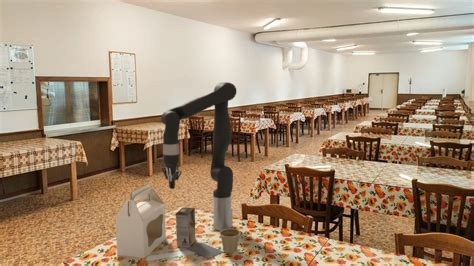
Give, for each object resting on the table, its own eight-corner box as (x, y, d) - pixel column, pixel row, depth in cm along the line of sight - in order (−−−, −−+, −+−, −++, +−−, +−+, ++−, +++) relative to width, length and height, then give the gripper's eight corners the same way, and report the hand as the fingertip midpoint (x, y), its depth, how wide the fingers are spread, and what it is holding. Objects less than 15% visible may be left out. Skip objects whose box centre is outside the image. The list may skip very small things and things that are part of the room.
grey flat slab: (201, 242, 174) (201, 242, 174) (223, 252, 164) (223, 251, 164) (186, 248, 168) (186, 248, 167) (208, 258, 158) (208, 258, 158)
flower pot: (225, 257, 159) (225, 238, 158) (216, 249, 167) (216, 230, 166) (244, 252, 163) (244, 234, 162) (234, 244, 172) (234, 227, 171)
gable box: (144, 259, 158) (141, 195, 155) (116, 255, 161) (113, 193, 158) (166, 238, 179) (164, 182, 176) (141, 235, 183) (139, 180, 179)
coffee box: (183, 238, 179) (182, 206, 177) (195, 239, 178) (195, 207, 176) (176, 246, 170) (175, 213, 168) (189, 247, 169) (188, 214, 167)
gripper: (186, 153, 174) (186, 189, 176) (169, 150, 183) (170, 184, 185) (173, 155, 168) (174, 192, 170) (156, 152, 177) (157, 187, 179)
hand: (172, 188), depth 178 cm, fingers closed
